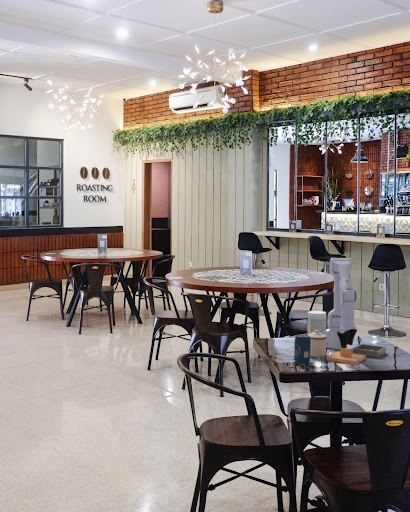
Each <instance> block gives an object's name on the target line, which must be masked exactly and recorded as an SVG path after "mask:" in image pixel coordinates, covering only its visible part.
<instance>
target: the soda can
mask: <svg viewBox="0 0 410 512" xmlns="http://www.w3.org/2000/svg"><path fill="white" fill-rule="evenodd" d="M310 348H311V340H310V337H309V335H307V334H296V336H295V338H294V350H293V351H294V352H293V354H294V355H293V356H294V357H293V360H294V363H295V364H298V365H309V363H310V362H311V356H310Z"/></svg>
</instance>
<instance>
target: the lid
mask: <svg viewBox="0 0 410 512" xmlns="http://www.w3.org/2000/svg"><path fill="white" fill-rule="evenodd" d="M325 357H326V361H329V362H335V363H341V364H349V365H356V366H357V364H360V363H361V362H362V361H364V360H366V355H361V354H353V348H349V347H347V348H340V350H337V351H335V352H332V353H331V354H329V355H326V356H325Z"/></svg>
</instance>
